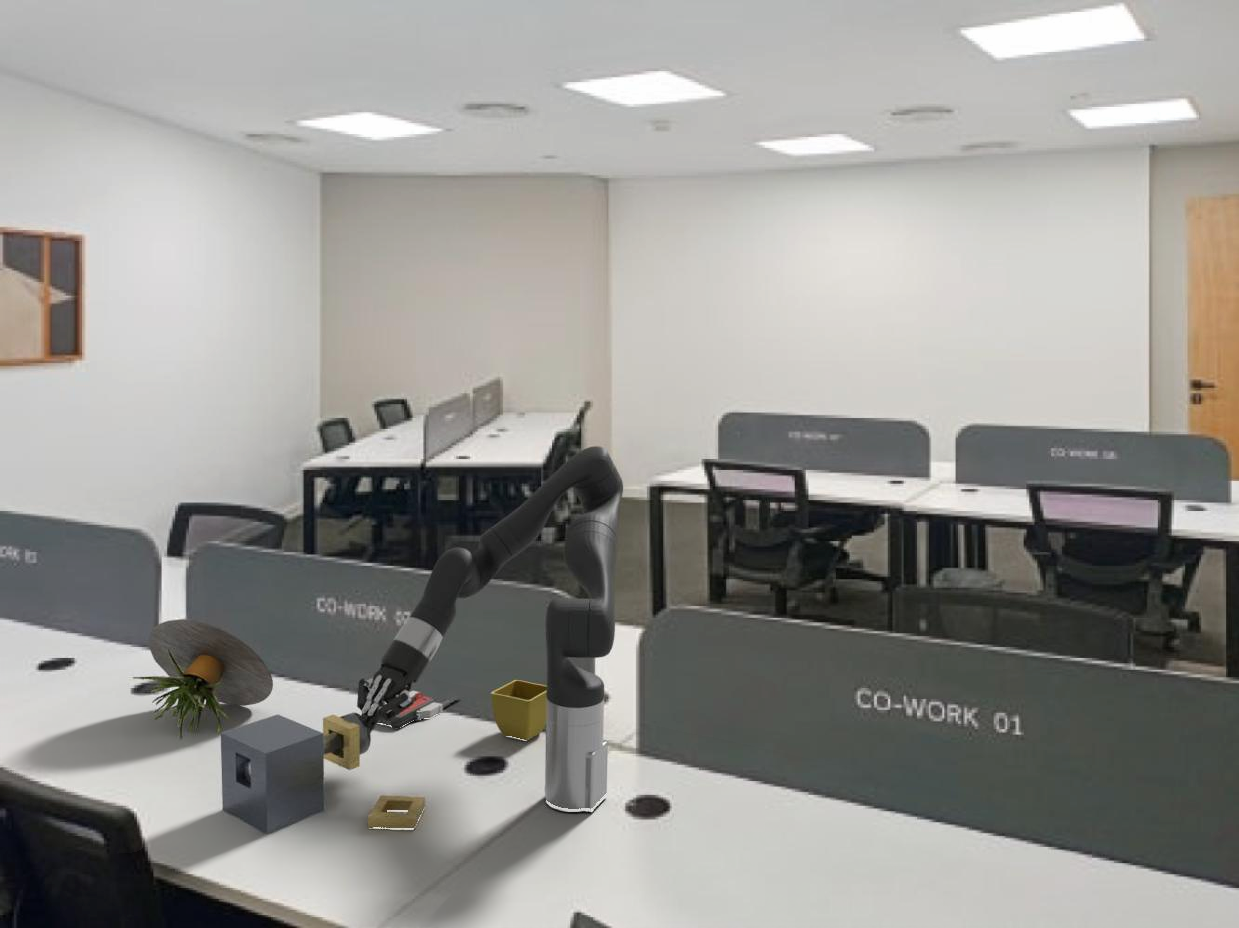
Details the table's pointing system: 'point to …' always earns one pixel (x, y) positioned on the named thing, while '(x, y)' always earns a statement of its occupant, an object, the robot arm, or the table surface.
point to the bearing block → (272, 772)
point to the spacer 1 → (351, 733)
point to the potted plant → (205, 669)
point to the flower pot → (520, 709)
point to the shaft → (336, 740)
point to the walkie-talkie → (416, 710)
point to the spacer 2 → (396, 820)
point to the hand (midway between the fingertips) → (357, 737)
